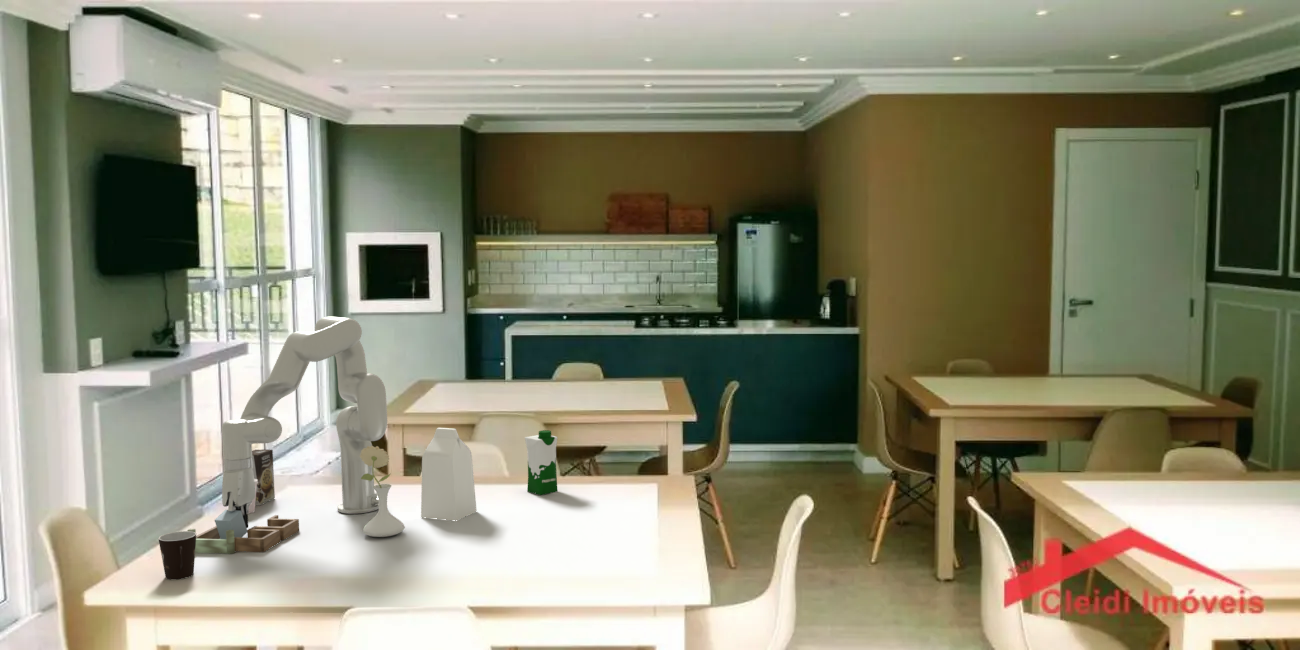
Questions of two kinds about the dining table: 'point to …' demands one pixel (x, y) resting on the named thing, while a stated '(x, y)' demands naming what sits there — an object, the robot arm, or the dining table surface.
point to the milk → (447, 477)
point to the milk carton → (542, 463)
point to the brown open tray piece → (256, 541)
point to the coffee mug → (178, 553)
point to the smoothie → (252, 505)
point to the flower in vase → (380, 496)
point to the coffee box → (263, 475)
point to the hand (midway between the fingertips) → (241, 528)
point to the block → (231, 523)
